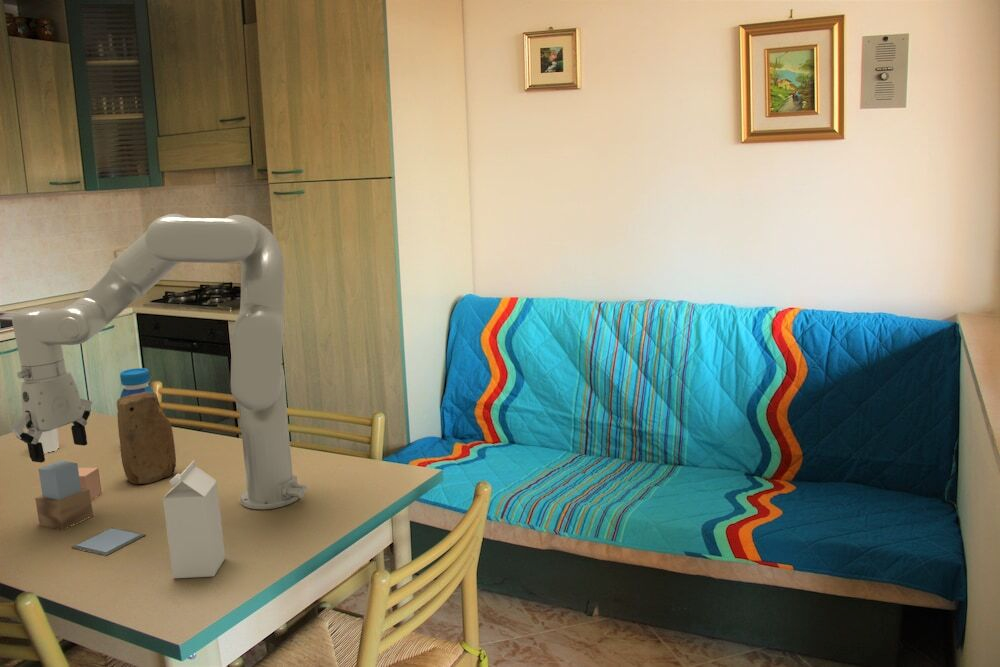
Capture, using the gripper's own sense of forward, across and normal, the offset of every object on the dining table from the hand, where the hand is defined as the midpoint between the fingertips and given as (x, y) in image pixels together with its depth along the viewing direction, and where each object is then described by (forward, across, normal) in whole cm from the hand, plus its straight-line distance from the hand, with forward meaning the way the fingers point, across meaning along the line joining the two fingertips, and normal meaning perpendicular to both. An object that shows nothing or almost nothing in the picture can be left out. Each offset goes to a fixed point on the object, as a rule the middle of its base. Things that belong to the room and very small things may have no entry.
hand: (60, 452), depth 168 cm
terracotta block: (+14, +9, +8) cm, 19 cm away
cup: (+14, +28, +45) cm, 55 cm away
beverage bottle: (+15, +39, +23) cm, 48 cm away
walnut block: (+15, -1, +1) cm, 15 cm away
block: (+15, +23, +3) cm, 28 cm away
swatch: (+15, -5, -16) cm, 22 cm away
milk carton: (+16, -7, -41) cm, 44 cm away
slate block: (+9, -1, +1) cm, 9 cm away
